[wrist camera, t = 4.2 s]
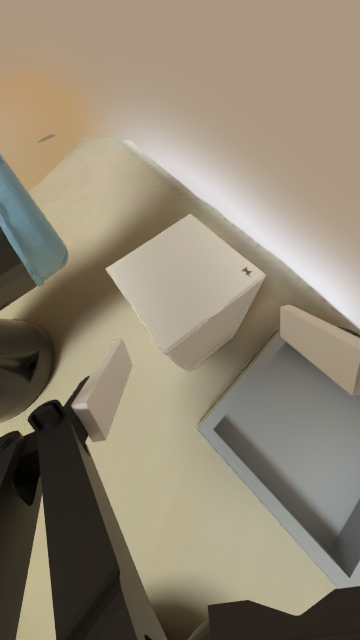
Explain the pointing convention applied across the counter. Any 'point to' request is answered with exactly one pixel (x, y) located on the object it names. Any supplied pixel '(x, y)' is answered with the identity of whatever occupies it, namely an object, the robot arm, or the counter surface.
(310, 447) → the tray
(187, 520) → the counter surface
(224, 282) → the supplement box
